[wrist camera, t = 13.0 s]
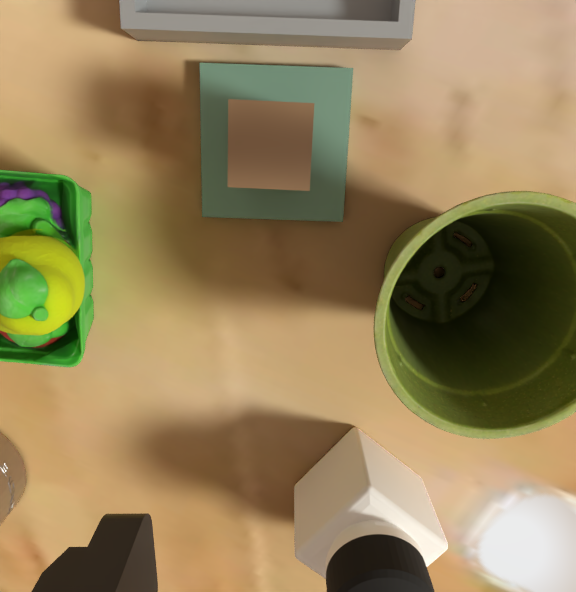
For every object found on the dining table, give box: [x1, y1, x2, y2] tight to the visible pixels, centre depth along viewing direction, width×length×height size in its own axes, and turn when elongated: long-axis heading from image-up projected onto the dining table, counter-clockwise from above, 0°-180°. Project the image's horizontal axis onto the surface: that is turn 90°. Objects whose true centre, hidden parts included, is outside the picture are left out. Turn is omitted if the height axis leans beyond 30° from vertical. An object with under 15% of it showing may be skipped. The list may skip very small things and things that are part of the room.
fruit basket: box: [0, 170, 94, 367], centre depth 28 cm, size 11×9×11 cm
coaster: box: [200, 63, 353, 222], centre depth 30 cm, size 9×9×1 cm
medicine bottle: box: [294, 427, 448, 592], centre depth 32 cm, size 7×7×12 cm
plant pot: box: [374, 191, 576, 439], centre depth 28 cm, size 12×12×11 cm
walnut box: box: [228, 99, 314, 191], centre depth 27 cm, size 4×4×7 cm
